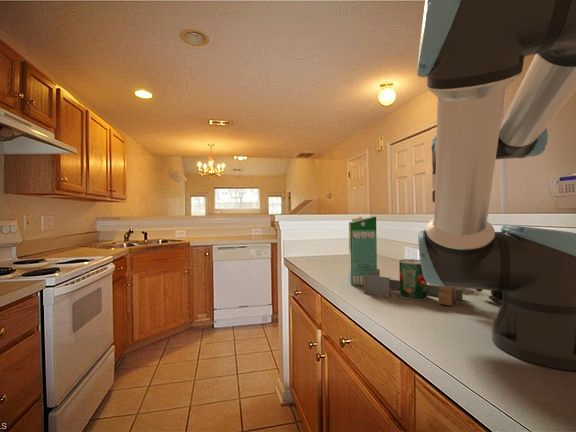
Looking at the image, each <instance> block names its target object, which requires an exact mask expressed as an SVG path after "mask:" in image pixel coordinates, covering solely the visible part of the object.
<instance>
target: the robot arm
mask: <svg viewBox="0 0 576 432" xmlns="http://www.w3.org/2000/svg"><path fill="white" fill-rule="evenodd" d="M423 9H424V10H423V16H422V25H421V31H420V32H421V33H420V41H419V50H418V57H417V59H418V60H417V68H416V76H417V77H419V78H426V80H427V81H426V82H427V83H426V88H427V90H429V92H431V93H432V94H433V95H435V97H436V98H437V102H436V103H437V107H436V108H437V110H436V136H434V137H433V138H432V142H431V164H432V165H431V166H432V168H431V169H432V172H431V173H432V175H431V177H432V178H431V184H432V185H431V188H432V189H433V191H432V193H431V194H432V196H431V197H432V198H431V199H432V203H434V213H433V214H434V217H433V218H431V219H430V220H429V221H428V222H427V224H426V226H425V229H424V230H419V232H418V233H417V241H418V242H417V243H418V251H419V252H418V253H419V260H420V262H421V268H422V273H423V277H424V279H425V281H426V282H427V284H428V285H431V284H432V285H438V286H444V287H456V288H457V289H468V290H469V289H470V290H471V289H472V290H476V289H482V291H483V290H486V291H491V290H495V291H503V302H502V305H500V309H499V311H498V313H497V314H496V317H495V320H494V323H493V325H492V328H491V341H492V342H493V344H494V345H495V346H497V348H499V349H501V350H502V351H503V352H506V353H507V354H510V355H512V356H514V357H517V358H518V359H521V360H524V361H527V362H530V363H533V364H535V365H540V366H544V367H547V368H552V369H558V370H563V371H571V372H576V232H572V231H565V230H557V229H550V228H549V229H547V228H539V227H530V226H521V225H512V224H504V225H502V227H501V228H500V231H496V229H495V228H494V226H493V225H492V224H491V223H490V222H489V221H488V217H489V210H490V209H489V208H490V202H491V196H492V195H491V193H492V187H493V180H494V175H495V173H494V172H495V167H496V166H495V165H496V160H507V159H525V158H530V157H537V156H540V155H541V154H543V153H544V151H545V149H546V146H547V144H548V138H549V133H548V132H549V131H548V128H547V127H548V126H549V125H550V123H552V121H553V119H554V118H555V117H556V116H557V115H558V113H559V112H560V110H562V109H563V107H565V105H566V103H567V102H568V101H569V99H570V98H571V97H572V96H573V95H574V94H575V92H576V0H425V2H424V7H423ZM532 55H534V57H533V58H532V61H531V63H530V65H529V66H528V69H527V71H526V73H525V75H524V77H523V79H522V81H521V83H520V86H519V87H518V89H517V91H516V93H515V96H514V97H513V100H512V101H511V103H510V106H509V108H508V109H507V111H506V113H505V115H504V117H503V119H502V116H503V109H504V103H505V97H506V96H505V95H506V90H507V88H508V86H509V85H511V84H512V83H513V82H514V81H515V80H517V78H519V77H520V76H521V75H522V73H523V67H524V61H525V58H526V57H529V56H532Z"/></svg>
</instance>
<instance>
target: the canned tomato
mask: <svg viewBox="0 0 576 432" xmlns="http://www.w3.org/2000/svg"><path fill="white" fill-rule="evenodd" d="M398 269H399V281H400V290H399V297H401V298H403V299H406V300H410V301H424V300H428V294H427V284H428V282H426V281H425V279H424V277H423V273H422V268H421V262H420V259H414V258H413V259H412V258H409V259H407V258H406V259H403V258H402V259H400V260H399V268H398Z"/></svg>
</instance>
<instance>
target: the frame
mask: <svg viewBox="0 0 576 432" xmlns="http://www.w3.org/2000/svg"><path fill="white" fill-rule="evenodd" d="M380 273H381V272H380V268H377V270H374V271H372V272H370V273H367V274H365V275H364V285H363V294H368V295H374V296H379V297H384V298H390V296H391V295H390V294H391V289H392V290H399V291H400V279H391V277H387V276H386V277H385V276H381V274H380ZM463 291H464V288H457V287H456V299H455V300H461V301H462V300H463V299H464V298H463V295H464V294H463ZM429 294H430V295H431V296H435V297H436V296H437V297H439V286H435V285H431V284H429V283H427V295H429Z"/></svg>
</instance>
